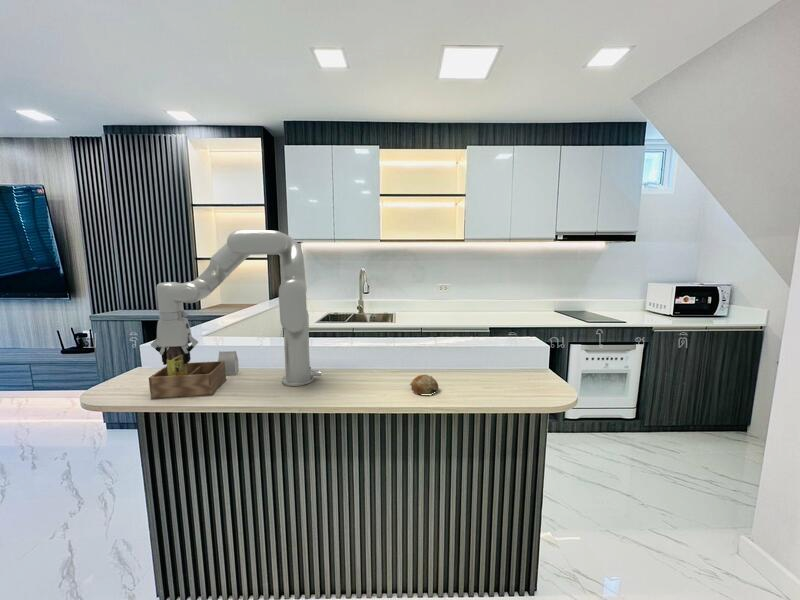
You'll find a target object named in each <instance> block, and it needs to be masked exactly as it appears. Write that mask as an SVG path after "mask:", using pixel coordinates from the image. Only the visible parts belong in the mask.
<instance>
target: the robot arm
mask: <svg viewBox="0 0 800 600" xmlns="http://www.w3.org/2000/svg"><path fill="white" fill-rule="evenodd" d="M251 255H252V256H253V255H256V256H257V255H260V256H261V255H278V256H279V257H280V259H281V263H280V264H281V265H280V266H281V280H282V281H281V284H280V285H279V287H278V305H279V306H278V307H279V322H280V325H281V327H282V328H283V341H284V342H283V344H284V345H283V346H284V368H285V375H284V376H283V377H282V379H281V383H282V384H283V385H284V386H288V387H299V386H305V384H306V385H308V384H311V383H312V382H313V381H314V380H315V377H321V376H322V371H320V370H319V369H314V370H313V369H312V366H311V365H310V364H311V363H310V332H309V331H310V329H309V328H310V326H309V323H310V319H309V311H308V309H307V289H308V288H307V283H306V270H305V258H304V253H303V251H302V247H301V246H300V244H299V243H298V242H297V241H296V240H295V239H294V238H293V237H291V236H289V235H288V234H286V233H283V232H281V231H280V230H279V231H278V230H271V229H270V230H267V229H266V230H250V229H249V230H245V229H244V230H243V229H240V230H239V229H238V230H233V231H232V232H231V233H230V234H228V235H227V240H226V243H225V244H223V246H221V248H219V249H218V250H217V251H216V252H215V253H214V254H213V255H212V256H211V257H210V260H209V264H208V266H207V268H206V269H204V271H203V272H202V273H201V274H200V275H199V276H198V277H196V278H195V279H194V280H192V281H187V282H182V283H180V282H177V281H169V282H168V281H167V282H160V283H158V284H156V296H157V297H156V298H157V307H158V317H159V320H157V324H156V338H155V340H153V341H152V342H151V343H150V346H151V348H153V349H155V350H156V351H157V352H158V353H159V355H161V362H162V363H163V365H164V366H167V355H166V352H167V350H168V348H169V347H182V349H183V351H184V354H183V359H184V364H187V363H190V361H191V351H193V349H194V348H195V347H196V346H197V345H198V344H199V341H198V340H197V339H196V338H194V337H193V336H192V331H191V326H190V324H189V322H190V321H189V319H188V318H186V317H188V316H189V313H188V312H185V310H184V303H186V304H192V303H193V304H194V303H196V302H199V301H202V300H203V299H205V298H207V297H208V296H210V294H212V293H213V292H214V291H215V290H216V289H217V288H218V287H219V286H221V284H222V283H224V281H225V280H226V279H227V278H228V277H229V276H230V274H232V273H233V272H234V271H235V270H236V269H237V268H238V267H239V266H240V265H241V264H242V263H243V262H245V260H246V259H247V258H248V257H250V256H251ZM190 343H191V345H189V344H190Z"/></svg>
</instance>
